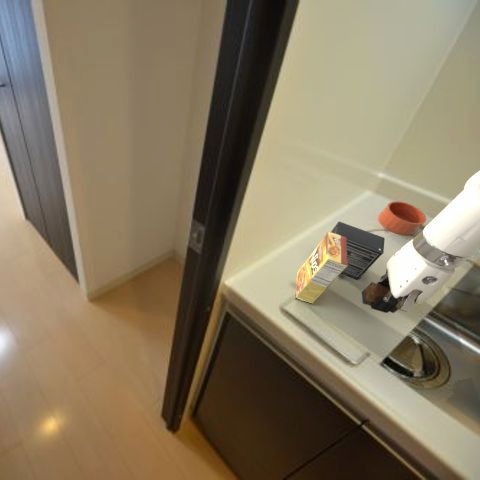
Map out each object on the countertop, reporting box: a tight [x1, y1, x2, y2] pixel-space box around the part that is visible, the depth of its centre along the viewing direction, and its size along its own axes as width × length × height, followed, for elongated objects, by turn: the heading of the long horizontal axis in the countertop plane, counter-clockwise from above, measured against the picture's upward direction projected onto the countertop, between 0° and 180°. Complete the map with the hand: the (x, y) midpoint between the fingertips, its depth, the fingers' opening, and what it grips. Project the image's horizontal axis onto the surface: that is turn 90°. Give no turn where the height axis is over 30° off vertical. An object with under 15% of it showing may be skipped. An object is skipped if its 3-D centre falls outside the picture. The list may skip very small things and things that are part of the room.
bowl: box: [377, 200, 427, 236], centre depth 94 cm, size 10×10×4 cm
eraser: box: [361, 281, 399, 314], centre depth 69 cm, size 6×3×4 cm, turn 68°
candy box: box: [295, 231, 348, 304], centre depth 74 cm, size 9×4×15 cm, turn 156°
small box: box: [330, 221, 385, 280], centre depth 81 cm, size 11×6×10 cm, turn 58°
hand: (377, 301), depth 71 cm, fingers closed on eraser, 3 cm apart
